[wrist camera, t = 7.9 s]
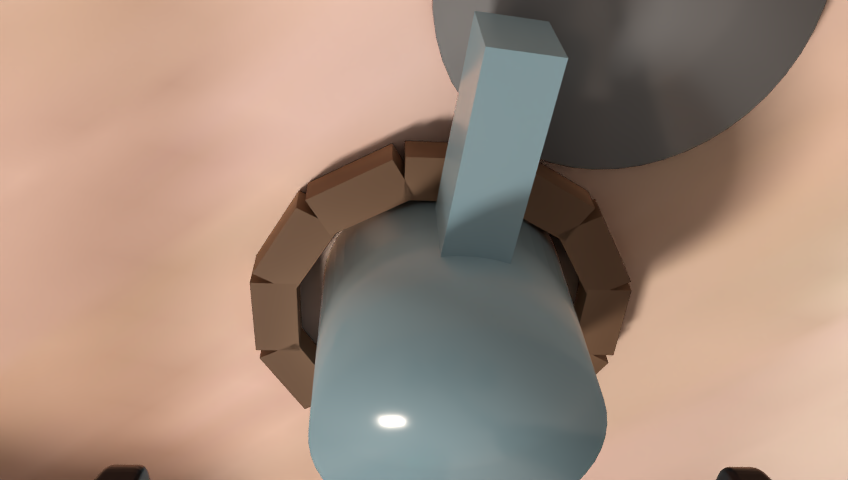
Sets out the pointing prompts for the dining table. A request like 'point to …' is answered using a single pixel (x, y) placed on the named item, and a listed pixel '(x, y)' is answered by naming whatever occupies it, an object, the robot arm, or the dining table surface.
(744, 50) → the coaster
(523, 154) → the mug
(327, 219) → the holder ring
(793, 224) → the dining table surface
